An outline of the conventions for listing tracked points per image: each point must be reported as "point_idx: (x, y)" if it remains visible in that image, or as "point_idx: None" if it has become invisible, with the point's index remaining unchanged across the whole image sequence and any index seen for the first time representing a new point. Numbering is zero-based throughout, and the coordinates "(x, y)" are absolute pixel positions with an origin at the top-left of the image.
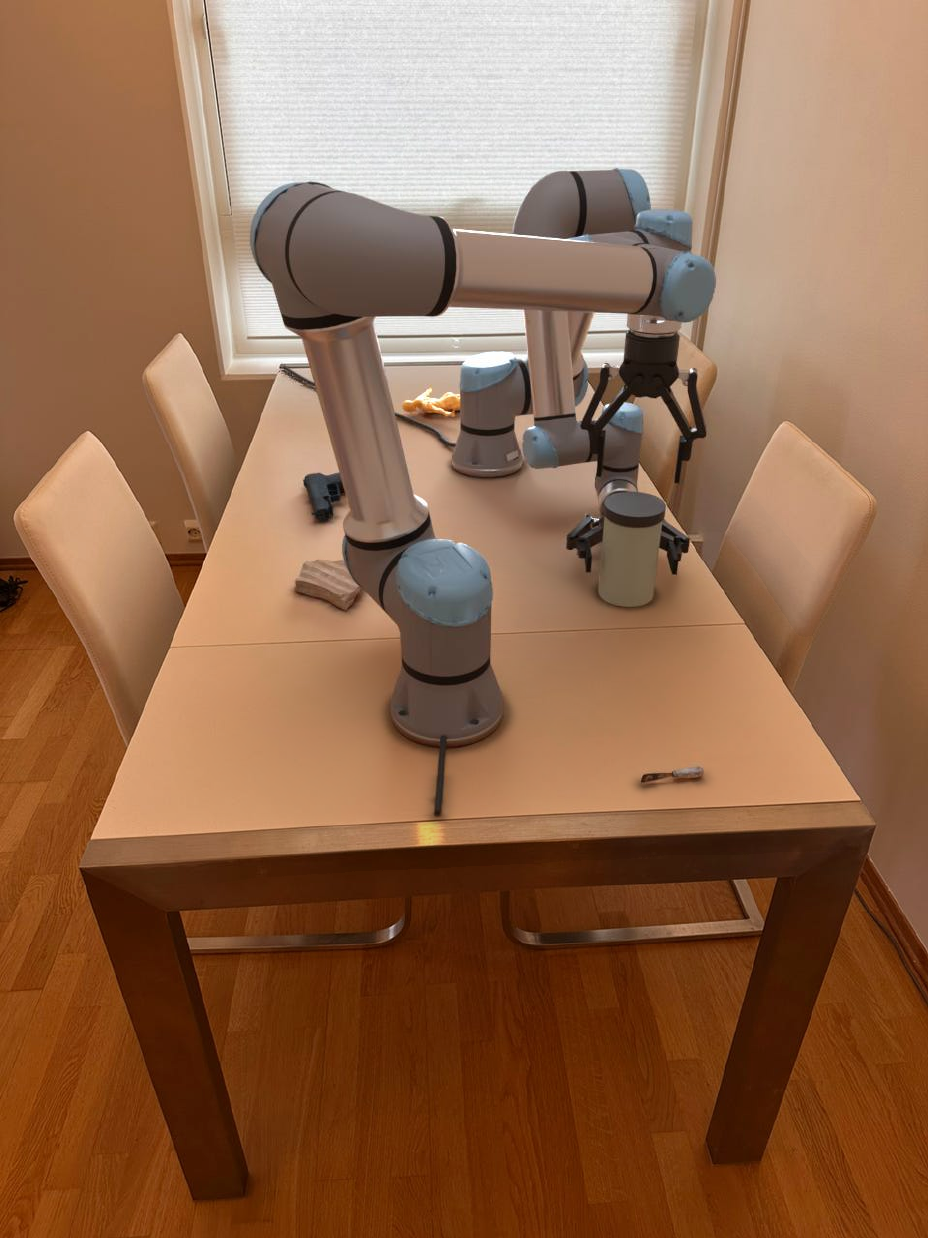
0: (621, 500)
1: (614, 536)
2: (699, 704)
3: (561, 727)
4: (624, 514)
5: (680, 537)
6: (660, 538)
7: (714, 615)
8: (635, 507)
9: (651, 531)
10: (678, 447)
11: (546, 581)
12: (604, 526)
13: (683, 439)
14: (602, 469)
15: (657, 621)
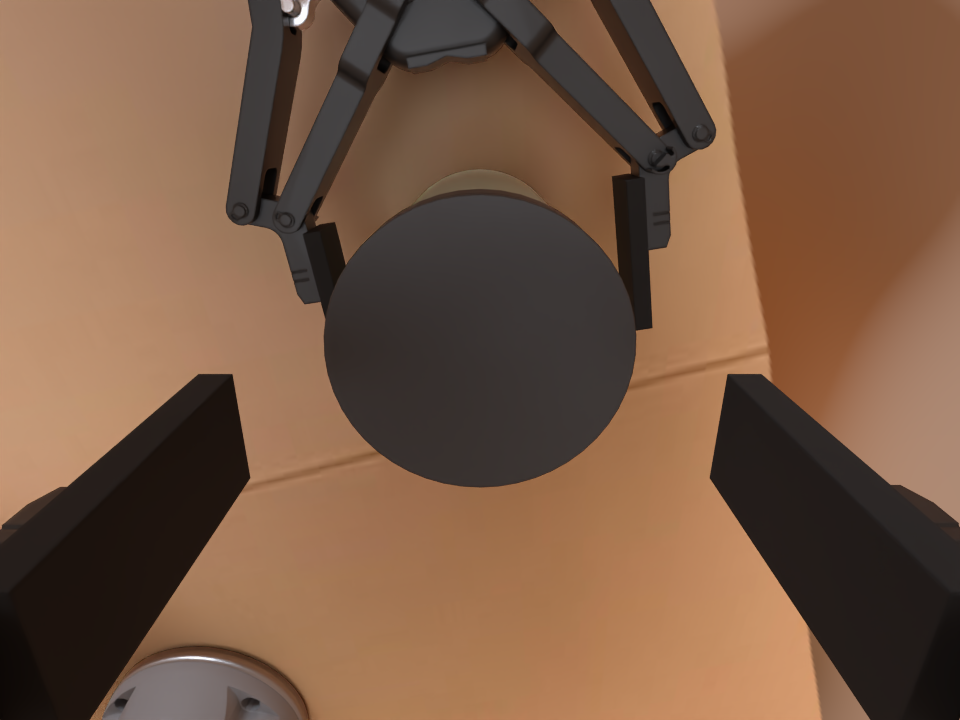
0: (408, 327)
1: None
2: (640, 628)
3: (407, 713)
4: (440, 474)
5: (677, 125)
6: (594, 122)
7: (721, 320)
8: (485, 395)
9: None
10: (851, 604)
11: (241, 231)
12: None
13: (957, 691)
14: (230, 404)
15: None
